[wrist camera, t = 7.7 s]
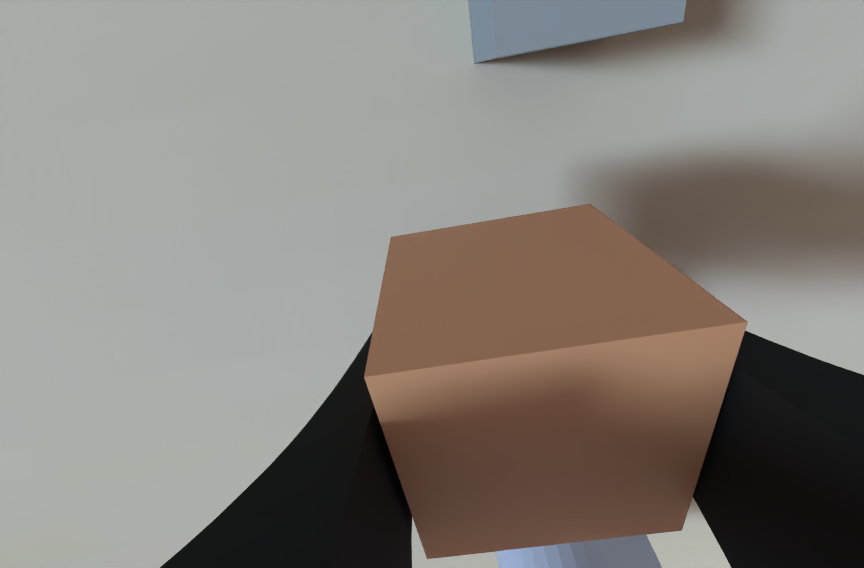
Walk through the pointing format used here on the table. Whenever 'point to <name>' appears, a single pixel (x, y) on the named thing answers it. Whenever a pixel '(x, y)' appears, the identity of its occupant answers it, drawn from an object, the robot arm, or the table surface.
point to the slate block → (560, 23)
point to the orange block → (545, 381)
